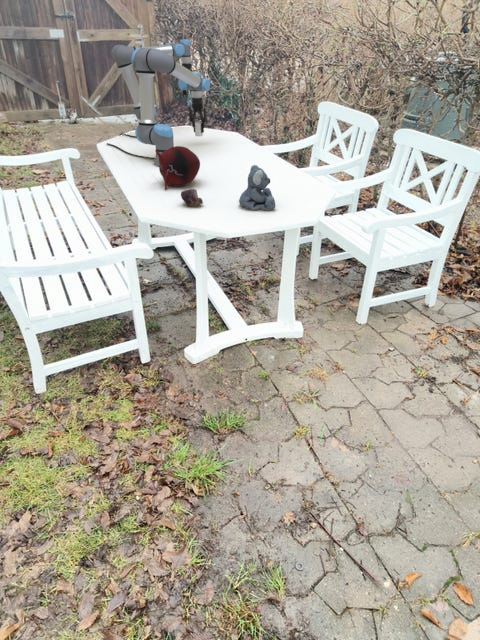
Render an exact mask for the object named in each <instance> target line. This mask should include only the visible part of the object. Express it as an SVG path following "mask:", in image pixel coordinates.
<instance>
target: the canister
mask: <svg viewBox="0 0 480 640" xmlns="http://www.w3.org/2000/svg"><path fill="white" fill-rule="evenodd" d="M201 123H202V121H195V132H194V135H195V137H203V133H204V132H203V133H201Z"/></svg>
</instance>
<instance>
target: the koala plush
mask: <svg viewBox="0 0 480 640" xmlns="http://www.w3.org/2000/svg"><path fill="white" fill-rule="evenodd" d="M270 183H271V178H269V176H268V175H267V173H266V172H265V170H264V169H263V168H261V167H259V165H257V164H253V165H250V170H249V173H248V176H247V188H246V189H245V190H244V191H243V192H242V193H241V194H240V197H239V199H238V203H239V204H240V206H241V207H242V208H246V209H247V210H252V211H255V210H261V211H272V210H274V209H275V208H276V200H275V198H274V196H273V194H272V191H271V188H270V187H268V186H269V185H270Z"/></svg>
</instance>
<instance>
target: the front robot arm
mask: <svg viewBox="0 0 480 640" xmlns="http://www.w3.org/2000/svg"><path fill="white" fill-rule="evenodd" d="M137 48H138V49H136V50H135V51H134V52H133V54H132V68H133V69H135V75H137V77H138V83H139V88H140V109H141V120H139V121H138V124H137V125H136V127H135V136H136V137H137V138H136V137H135V138H136V139H137V141H138V142H140V143H142V144H143V145H144V144H145V145H149V146H150V145H151V146H155V150H157V151H158V152H159V153H160V154H162V153H163V152H164V151H166V150H168V149H169V148H171V147H175V143H174V141H175V140H174V132H173V127H172V126H170V125H169V124H166V123H158V121H157V122H156V121H155V117H154V107H155V92H154V90H155V89H154V77H155V75H156V72H161V73H165V74H167V75H172V76H173V77H174V78H177V79H178V80H177V81H178V82H177V85H178V88H179V89H180V90H181V91H183V90H186V91H190V90H191V92H190V93H191V104H192V105H190V106H188V113H189V114H188V115H189V122H190V123H191V124H192V128H193V133H195V122H196V119H197V118H196V116H197V112H198V114H199V118H200V122H202V123H201V133H205V126H206V123H207V122H208V116H207V110H208V108H207V106H204V104H203V93H204V92H208V91H209V90H210V88H211V81H210V80H209V79H208V78H205V77H204V78H203V77H202V73H201V72H198V71H194V72H193V70H192V71H190V70H188V69H187V68H185V67H184V66H182V63H179V62H177V60H176V59H175V58H174V56H172V57H171V56H170V55H168V54H167V53H165V52H163V51H161V50H159V49H151V48H141V47H137ZM106 145H108V146H112V147H114V148H116V149H118V150H120V151H121V152H123V153H125V154H127V155H130V156H133V157H137V158H143V159H148V160H153V161H154V165H155V166H157V167H159V156H158V155H157V153H156V152H155V155H154V157H151V156H145V155H139V154H134V153H131V152H128V151H126V150H124V149H122V148H121V147H119V146H117V145H114V144H112V143H108V142H107V143H106Z"/></svg>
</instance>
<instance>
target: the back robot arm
mask: <svg viewBox="0 0 480 640" xmlns="http://www.w3.org/2000/svg"><path fill="white" fill-rule="evenodd" d="M191 47H192V46H191V41H190V40H189V38H187V39H186V38H185V39H180V40H179V42H166V43H165V44H163V45H153V46H151V45H150V46H142V47H140V48H151V49H159V50H161V51H163V52H165V53H167V54H168V55H170V56H171V57H180V60H181V61H180V63H181V65H182V66H184V67H185V68H187V69H188V70H190V71H192V72H193V69H192V67H193V66H192V49H191ZM138 48H139V47H136V46H133V45H132V46H128V45H125V44H120V43H119V44H116V45H114V47H112V50H111V57H112V59H113V61H114V62H115V64H116V67H117V69H118V70H119V71H120V72H121V73H122V76H123V79H124V82H125V84H126V86H127V90H128V92H129V94H130V96H131V99H132V102H133V106H132V107H133V110H134V114H135V117H136V118H137V120H139V121H140V120H141V109H140V88H139V80H138V79H137V76H136V72H135V71H134V67H133V65H132V54H133V52H134V51H135V50H136V49H138ZM189 91H190V93H191V90H189ZM182 96H187V90H182ZM154 117H155V121H156V122H157V123H158V119H157V117H158V116H157V110H156V107H155V106H154ZM118 136H119V137H120V136H128V137H130V138H136V139H137V137H136V135H131V134H127V135H126V133H119V135H118Z"/></svg>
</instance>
